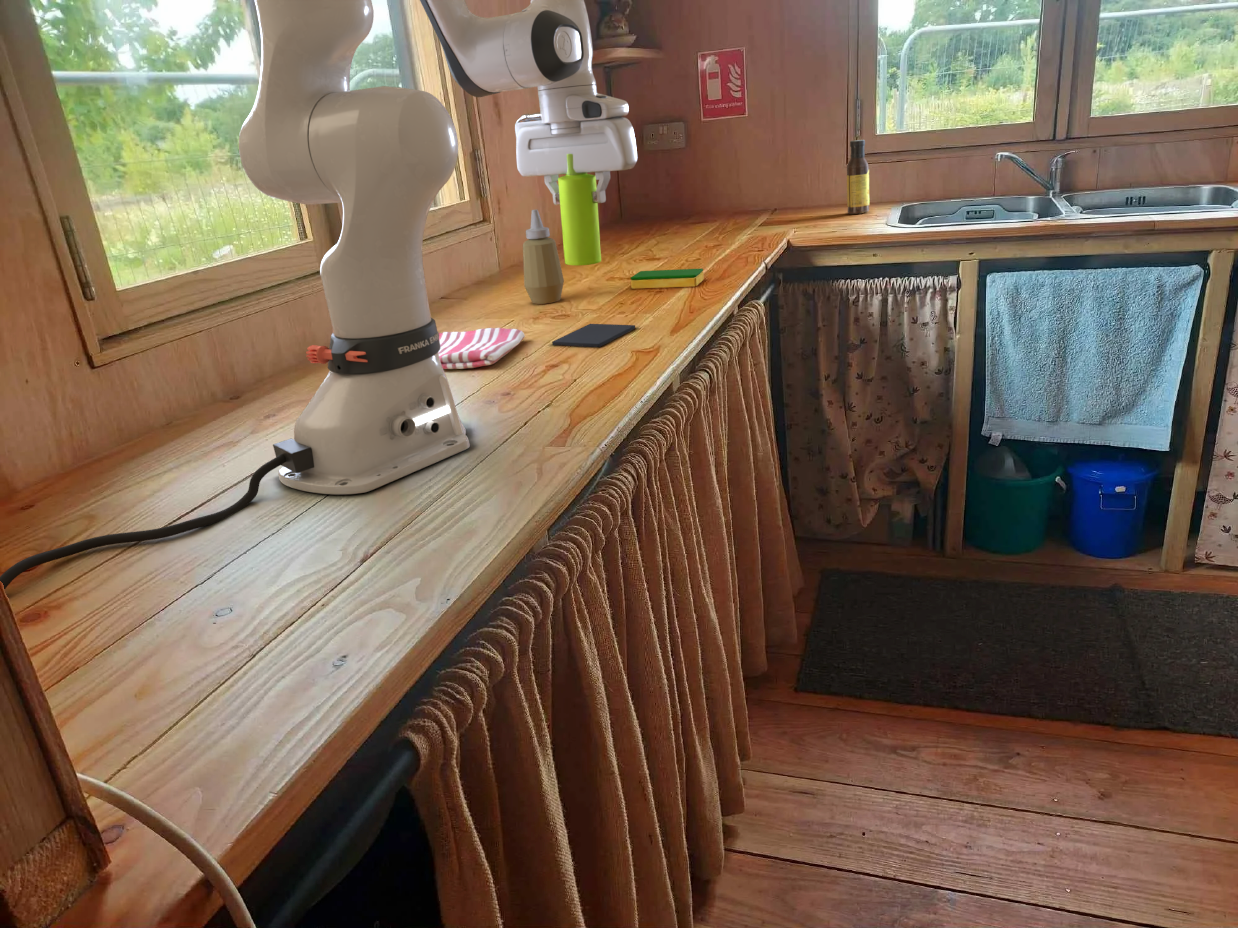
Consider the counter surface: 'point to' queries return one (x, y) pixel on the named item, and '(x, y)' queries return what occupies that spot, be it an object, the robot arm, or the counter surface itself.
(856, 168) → the sauce bottle
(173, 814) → the counter surface
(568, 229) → the soap dispenser
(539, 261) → the squeeze bottle
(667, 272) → the dish sponge
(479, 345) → the dish towel
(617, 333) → the mat
